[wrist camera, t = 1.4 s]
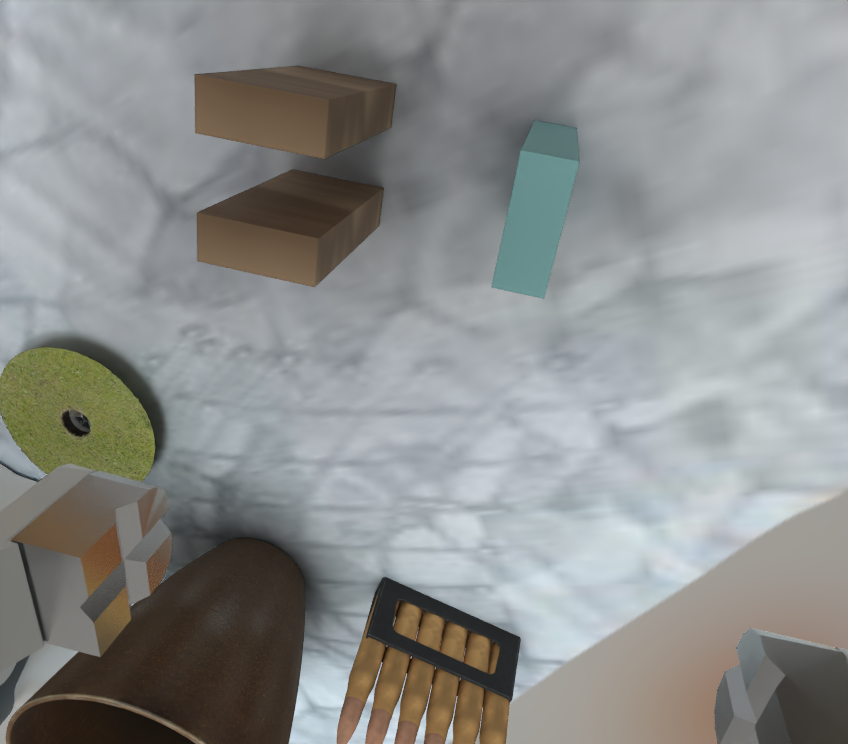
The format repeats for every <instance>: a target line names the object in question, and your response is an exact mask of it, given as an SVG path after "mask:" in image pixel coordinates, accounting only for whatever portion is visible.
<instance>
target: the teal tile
mask: <svg viewBox="0 0 848 744" xmlns="http://www.w3.org/2000/svg"><path fill="white" fill-rule="evenodd" d="M578 165H579V150H578V138H577V128H574V127H568V126H563V125H558V124H552V123H547V122H542V121H536V120H535V121H534V123H533V125H532V127H531V130H530V132H529V134H528V136H527V138H526V140H525V143H524V145H523V147H522V149H521V152H520V157H519V162H518V166H517V171H516V176H515V180H514V185H513V190H512V194H511V199H510V203H509V208H508V213H507V217H506V222H505V227H504V231H503V236H502V241H501V245H500V250H499V255H498V259H497V264H496V268H495V273H494V278H493V282H492V288H497V289H501V290H506V291H510V292H515V293H520V294H524V295H529V296H534V297H538V298H543V299H544V297H545V293H546V289H547V285H548V281H549V278H550V274H551V270H552V266H553V262H554V258H555V254H556V251H557V247H558V243H559V239H560V235H561V231H562V227H563V223H564V220H565V216H566V212H567V208H568V204H569V200H570V196H571V193H572V189H573V185H574V181H575V177H576V173H577V169H578Z"/></svg>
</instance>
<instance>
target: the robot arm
mask: <svg viewBox="0 0 848 744" xmlns="http://www.w3.org/2000/svg"><path fill="white" fill-rule="evenodd" d="M168 510H169V507H168V501H167V495H166V491H165V490H163V489H161V488H160V487H158V486H154V485H151V484H147V483H143V482H140V481H136V480H132V479H128V478H125V477H121V476H117V475H113V474H110V473H106V472H102V471H95V470H91V469H88V468H84V467H81V466H77V465H73V464H66V465H62V466H58V467H57V468H55V469H54V470H53V471H52V472H50V473H49V474H48V475H46V476H45V477H44V478H43V479H41V480H40V481H39V482H36V481H33V480H30V479H27V478H24V477H22V476H19V475H17V474H15V473H13V472H12V471H10V470H9V469H7V468H6V467H4V466H3V465H1V464H0V725H1V724H2V722H3V721H4V720H5V719H6V718H7V716H8V715H9V714H10V713H11V711H12V709H13V708H17V707H21V706H22V705H23V704H24V703H25V702H27V701H28V700H29V699H30V698H31V697H32V696H33V695H34V694H35V693H36V692H37V691H38V690H39V689H40V688H41V687H42V686H43V685H44V684H45V683H46V682H47V681H48V680H49V679H50V678H51V677H52V676H53V675H54V674H56V673H57V672H58V671H59V670H60V669H61V668H62V667H63V666H64V665H65V664H66V663H67V662H68V661H69V660H70V659H71V658H72V657H73V656H74V655H75V654H76V653H78V652H82V653H86V654H90V655H94V656H98V657H101V656H102V655H103V653H104V652H105V651H106V650H107V649H108V647H109V646H110V645H111V644H112V642H113V641H114V640H115V639H116V637H117V636H118V635H119V634H120V632H121V631H122V630H123V629H124V627H125V626H126V625H127V624H128V623H129V621H130V620H131V604H133V603H135V602H138V601H140V600H142V599H144V598H146V597H148V596H150V595H151V594H152V592H153V591H154V590H155V589H156V587H157V586H158V585H159V583H160V582H161V581H162V579H163V577H164V574H165V572H166V570H167V568H168V565H169V563H170V560H171V553H172V547H173V544H172V533H171V531H170V530H169V529H168V527H167V526H166V525H165V523H164V522H163V521H162V520H161V517H162V516H163V515H164V514H165V513H166V512H167V511H168ZM736 649H737V653H738V658H739V662H740V664H739V665H737V666H735V667H733V668H731V669H729V670H727V671H725V673H724V675H723V678H722V680H721V682H720V685H719V687H718V690H717V697H716V703H715V710H714V714H715V731H716V737H717V744H848V650H846V649H841V648H837V647H836V648H833V647H831V646H827V645H823V644H818V643H814V642H809V641H805V640H801V639H797V638H792V637H788V636H784V635H779V634H775V633H771V632H766V631H762V630H757V629H753V628H750V629H749V630H747V631H746V632H745V633H744V634H743V636H742V637H741V639H740V641H739V643H738V646H737V647H736Z"/></svg>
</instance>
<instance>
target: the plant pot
mask: <svg viewBox="0 0 848 744" xmlns="http://www.w3.org/2000/svg"><path fill="white" fill-rule="evenodd" d="M304 625H305V582H304V578H303V575H302V573H301V571H300V569H299V568H298V566H297V565H296V563H295V562H294V561H293V560H292V559H291V558H290V557H289V556H288V555H287V554H286V553H284V552H283V551H281V550H280V549H278V548H277V547H275V546H273V545H271V544H269V543H267V542H263V541H260V540H256V539H251V538H238V539H232V540H229V541H226V542H224V543H223V544H221V545H219V546H217V547H216V548H214V549H212V550H211V551H209V552H207V553H206V554H204V555H202V556H201V557H199V558H198V559H196V560H195V561H193V562H191V563H190V564H188V565H187V566H185V567H184V568H182V569H181V570H179V571H178V572H176V573H175V574H174V575H172V576H171V577H169V578H168V579H167V580H165V581H164V582H162V583H161V584H160V585H158V586H157V587H156V589H155V590H154V591H153V592H152V594H151V595H150V596H148V597H146V598H144V599H142V600H140V601H138V602H136V603H135V604H134V605H132V606H131V620H130V621H129V623H128V624H127V625H126V626H125V627H124V629H123V630H122V631H121V632H120V634H119V635H118V636H117V637H116V639H115V640H114V641H113V642H112V644H111V645H110V646H109V647H108V649H107V650H106V651H105V652H104V653H103V655H102V656H101V657H98V656H94V655H90V654H86V653H82V652H78V653H76V654H75V655H74V656H73V657H72V658H71V659H70V660H69V661H68V662H67V663H66V664H65V665H64V666H63V667H62V668H61V669H60V670H59V671H58V672H57V673H56V674H54V675H53V676H52V677H51V678H50V679H49V680H48V681H47V682H46V683H45V684H44V685H43V686H42V687H41V688H40V689H39V690H38V691H37V692H36V693H35V694H34V695H33V696H32V697H31V698H30V699H29V700H28V701H27V702H25V703H24V704H23V705H22V706H21V707H20V708H19V709H18V710H17V711H16V712H15V714H14V715H13V716H12V718H11V719H10V721H9V724H8V727H7V732H6V744H289V738H290V733H291V728H292V722H293V716H294V711H295V705H296V698H297V692H298V686H299V678H300V670H301V662H302V652H303V641H304Z"/></svg>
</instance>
